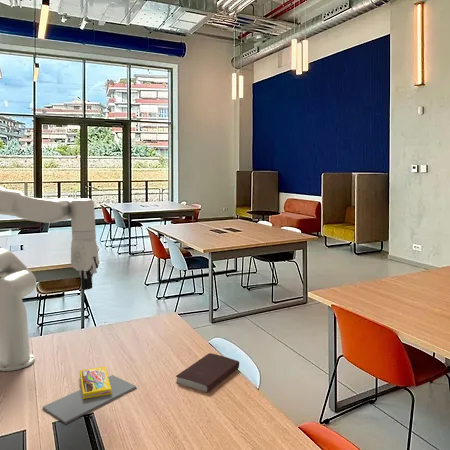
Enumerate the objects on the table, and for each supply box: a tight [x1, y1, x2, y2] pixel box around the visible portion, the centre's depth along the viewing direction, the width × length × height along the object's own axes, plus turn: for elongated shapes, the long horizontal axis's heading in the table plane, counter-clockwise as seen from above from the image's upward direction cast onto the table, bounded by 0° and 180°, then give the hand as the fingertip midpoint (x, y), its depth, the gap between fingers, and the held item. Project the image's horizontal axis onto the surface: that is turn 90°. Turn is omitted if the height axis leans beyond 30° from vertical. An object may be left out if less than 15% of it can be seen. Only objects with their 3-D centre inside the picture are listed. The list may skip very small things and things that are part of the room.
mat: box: [42, 374, 137, 424], centre depth 129 cm, size 12×24×1 cm, turn 141°
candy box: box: [79, 366, 112, 399], centre depth 135 cm, size 16×2×8 cm
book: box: [175, 352, 240, 393], centre depth 142 cm, size 12×19×3 cm, turn 148°
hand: (87, 288), depth 147 cm, fingers closed
